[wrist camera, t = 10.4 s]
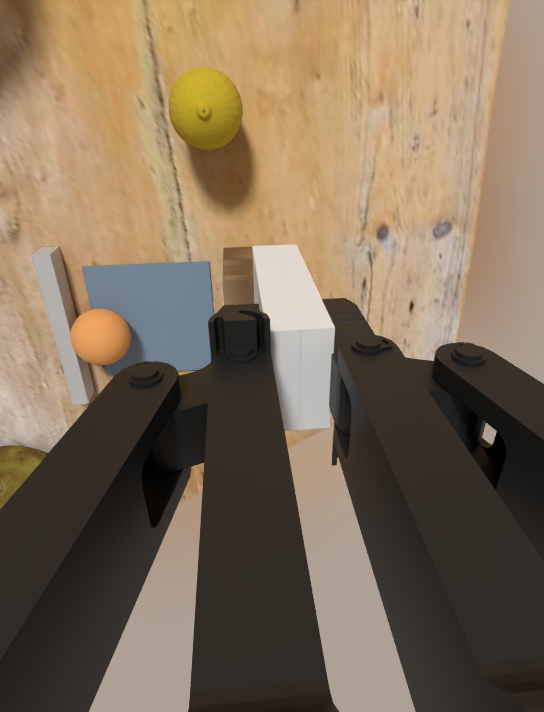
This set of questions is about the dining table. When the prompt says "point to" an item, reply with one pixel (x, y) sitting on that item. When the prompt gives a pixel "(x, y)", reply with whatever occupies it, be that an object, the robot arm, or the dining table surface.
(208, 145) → the lemon
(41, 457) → the potato
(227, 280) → the bridge
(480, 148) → the dining table surface
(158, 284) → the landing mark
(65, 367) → the stopper
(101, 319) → the ball
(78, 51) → the dining table surface
